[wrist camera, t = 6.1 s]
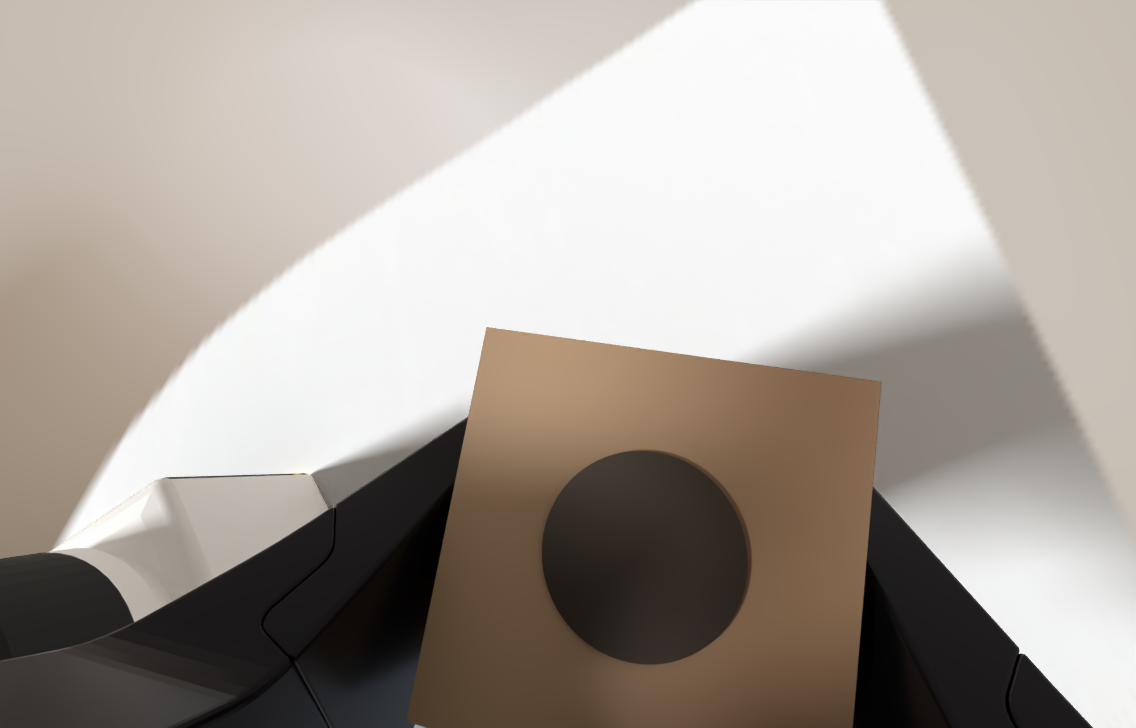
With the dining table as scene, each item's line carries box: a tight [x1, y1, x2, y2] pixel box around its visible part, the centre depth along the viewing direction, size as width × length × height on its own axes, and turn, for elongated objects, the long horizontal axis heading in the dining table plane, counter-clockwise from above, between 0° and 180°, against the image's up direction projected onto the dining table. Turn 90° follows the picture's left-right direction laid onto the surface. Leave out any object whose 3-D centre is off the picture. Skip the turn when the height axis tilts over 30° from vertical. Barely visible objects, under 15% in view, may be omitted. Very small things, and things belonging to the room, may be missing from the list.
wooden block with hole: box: [406, 327, 881, 728], centre depth 11 cm, size 4×4×10 cm
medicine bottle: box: [0, 473, 328, 661], centre depth 16 cm, size 7×7×12 cm
